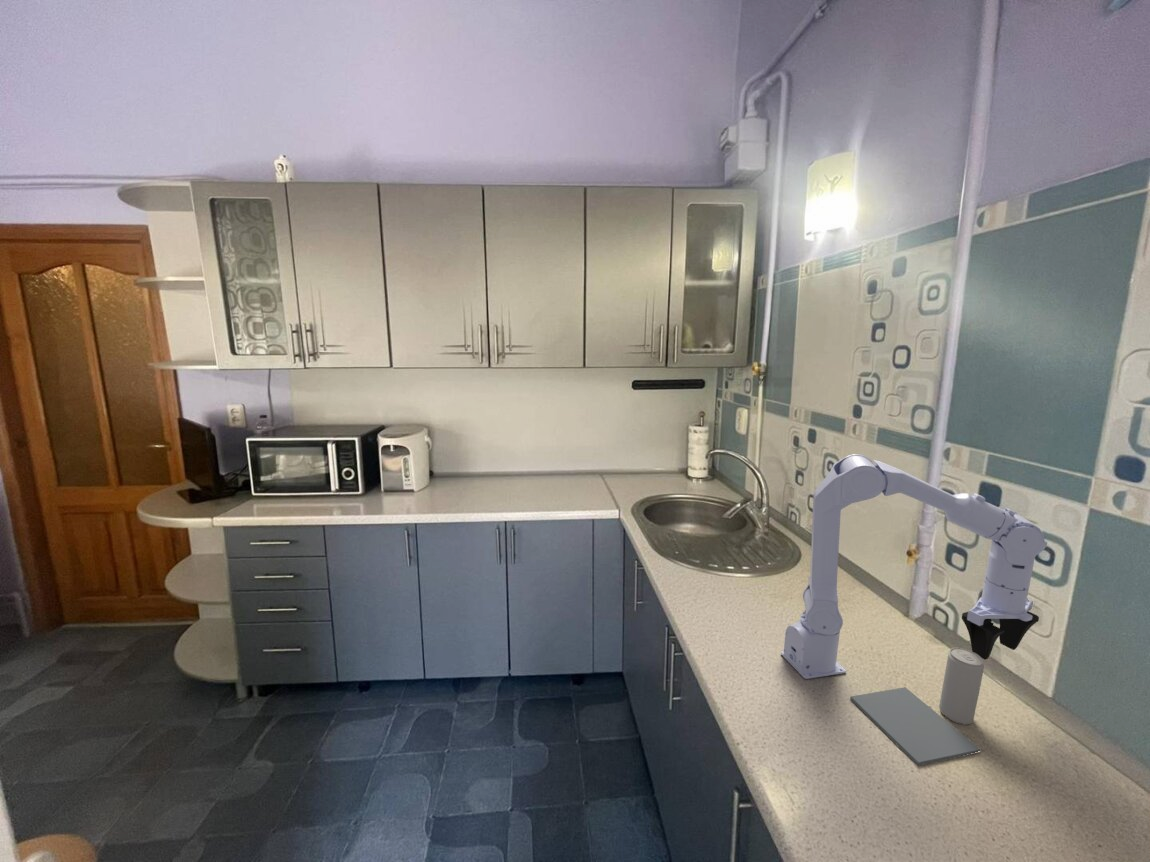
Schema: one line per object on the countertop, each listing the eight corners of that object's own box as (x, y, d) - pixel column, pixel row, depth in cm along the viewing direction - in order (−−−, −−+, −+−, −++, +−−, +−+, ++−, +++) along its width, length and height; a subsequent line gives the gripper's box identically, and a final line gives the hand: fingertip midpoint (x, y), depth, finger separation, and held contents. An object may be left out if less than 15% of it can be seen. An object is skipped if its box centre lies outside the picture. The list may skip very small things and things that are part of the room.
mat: (918, 765, 73) (918, 762, 73) (850, 699, 87) (850, 696, 87) (980, 752, 76) (980, 749, 76) (904, 689, 89) (905, 687, 89)
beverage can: (957, 704, 86) (968, 646, 83) (980, 726, 81) (992, 665, 78) (931, 705, 85) (941, 647, 83) (953, 727, 81) (964, 666, 78)
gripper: (1006, 601, 76) (993, 675, 78) (1061, 585, 80) (1046, 655, 83) (959, 581, 82) (948, 649, 85) (1012, 567, 87) (1000, 632, 90)
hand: (993, 651), depth 84 cm, fingers open, 7 cm apart
